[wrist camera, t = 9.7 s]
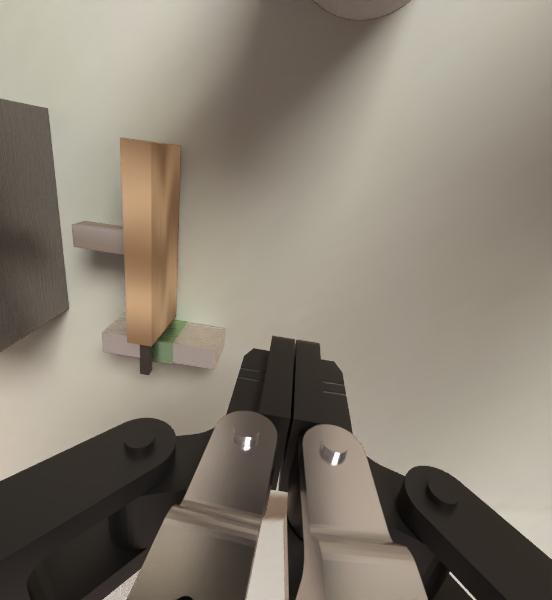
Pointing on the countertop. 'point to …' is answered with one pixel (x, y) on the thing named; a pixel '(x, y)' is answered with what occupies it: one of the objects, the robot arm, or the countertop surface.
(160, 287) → the tan wooden bar
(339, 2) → the black and white mug
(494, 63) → the countertop surface
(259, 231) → the countertop surface
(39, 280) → the set of grey blocks
